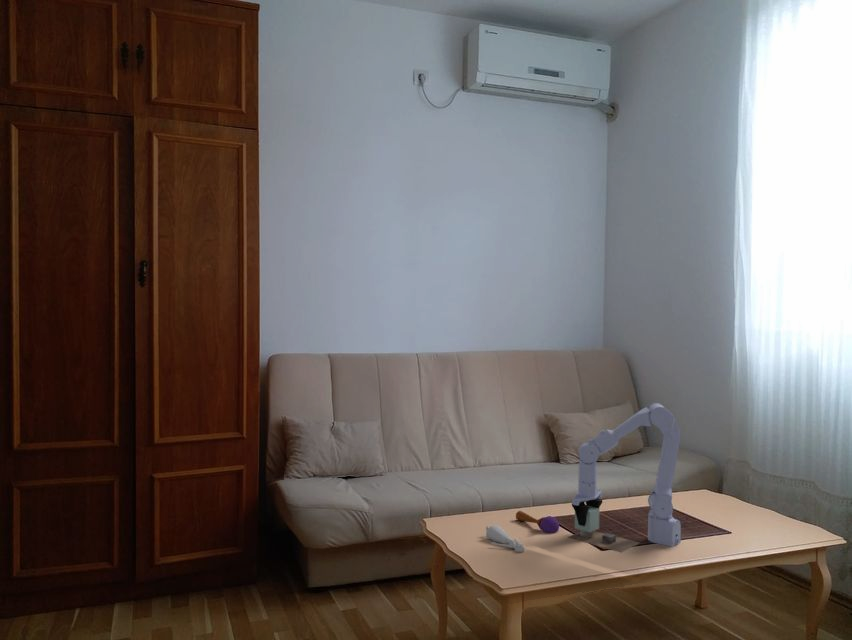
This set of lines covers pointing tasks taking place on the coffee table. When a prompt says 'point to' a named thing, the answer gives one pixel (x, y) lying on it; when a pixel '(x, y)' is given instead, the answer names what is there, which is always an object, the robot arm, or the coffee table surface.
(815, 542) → the coffee table surface
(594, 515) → the frosted mint cube
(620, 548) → the board
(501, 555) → the coffee table surface
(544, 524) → the purple and brown maraca
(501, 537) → the woman figurine
